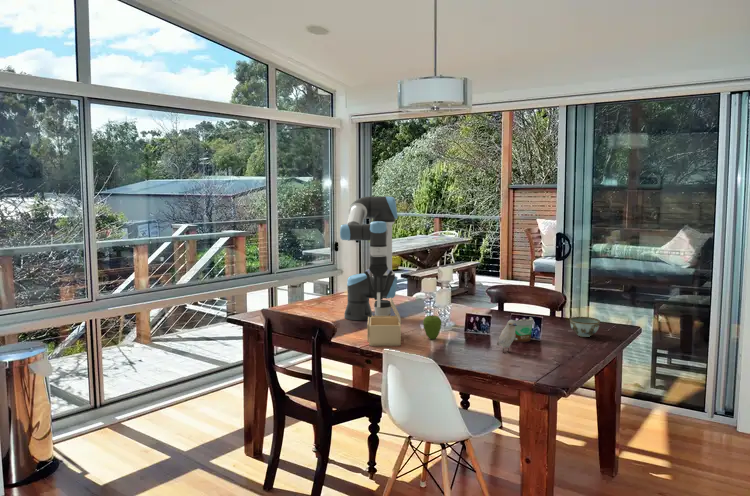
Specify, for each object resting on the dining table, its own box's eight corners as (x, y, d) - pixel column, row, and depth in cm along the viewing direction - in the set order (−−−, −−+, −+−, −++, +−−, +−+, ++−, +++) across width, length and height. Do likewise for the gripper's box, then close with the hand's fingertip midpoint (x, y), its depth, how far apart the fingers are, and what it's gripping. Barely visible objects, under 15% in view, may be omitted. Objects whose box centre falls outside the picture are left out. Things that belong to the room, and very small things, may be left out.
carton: (368, 335, 296) (368, 315, 294) (399, 335, 295) (399, 315, 294) (367, 346, 276) (367, 325, 275) (400, 346, 276) (400, 325, 275)
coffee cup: (389, 334, 298) (389, 303, 296) (372, 333, 299) (372, 302, 298) (392, 329, 306) (392, 300, 304) (376, 329, 308) (375, 299, 306)
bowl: (568, 338, 289) (568, 321, 288) (569, 331, 301) (570, 315, 300) (599, 341, 284) (600, 323, 283) (599, 334, 296) (600, 317, 296)
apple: (419, 337, 291) (419, 313, 289) (435, 335, 294) (435, 312, 293) (428, 342, 283) (428, 317, 282) (444, 340, 286) (445, 315, 285)
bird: (511, 357, 258) (512, 322, 256) (492, 349, 270) (493, 315, 269) (521, 356, 260) (522, 321, 258) (502, 348, 272) (502, 314, 271)
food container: (518, 344, 279) (518, 322, 278) (509, 340, 285) (509, 319, 284) (539, 340, 285) (539, 319, 284) (530, 337, 290) (530, 316, 289)
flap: (399, 316, 293) (390, 297, 292) (400, 316, 292) (391, 297, 292) (400, 324, 277) (390, 304, 276) (401, 324, 277) (391, 304, 276)
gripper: (363, 256, 278) (364, 308, 280) (392, 256, 277) (392, 308, 280) (364, 254, 285) (364, 305, 288) (392, 254, 285) (392, 305, 288)
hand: (378, 306), depth 284 cm, fingers closed
